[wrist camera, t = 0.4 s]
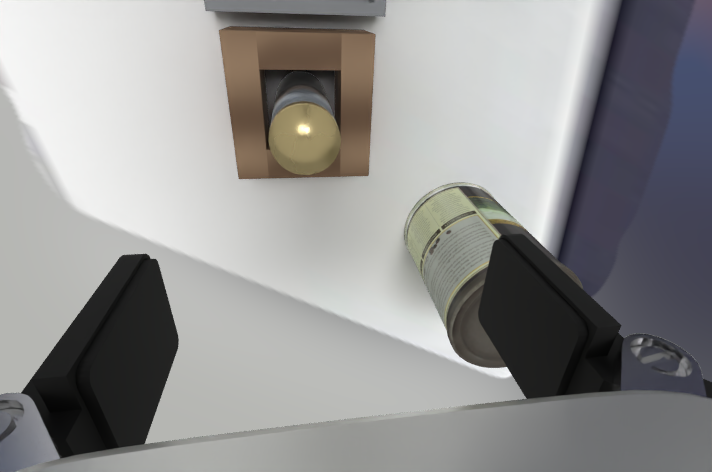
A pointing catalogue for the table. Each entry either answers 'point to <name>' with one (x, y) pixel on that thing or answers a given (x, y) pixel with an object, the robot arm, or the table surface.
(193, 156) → the table surface
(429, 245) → the coffee can
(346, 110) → the block
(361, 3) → the tray
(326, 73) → the table surface
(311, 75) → the steel pin
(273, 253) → the table surface
